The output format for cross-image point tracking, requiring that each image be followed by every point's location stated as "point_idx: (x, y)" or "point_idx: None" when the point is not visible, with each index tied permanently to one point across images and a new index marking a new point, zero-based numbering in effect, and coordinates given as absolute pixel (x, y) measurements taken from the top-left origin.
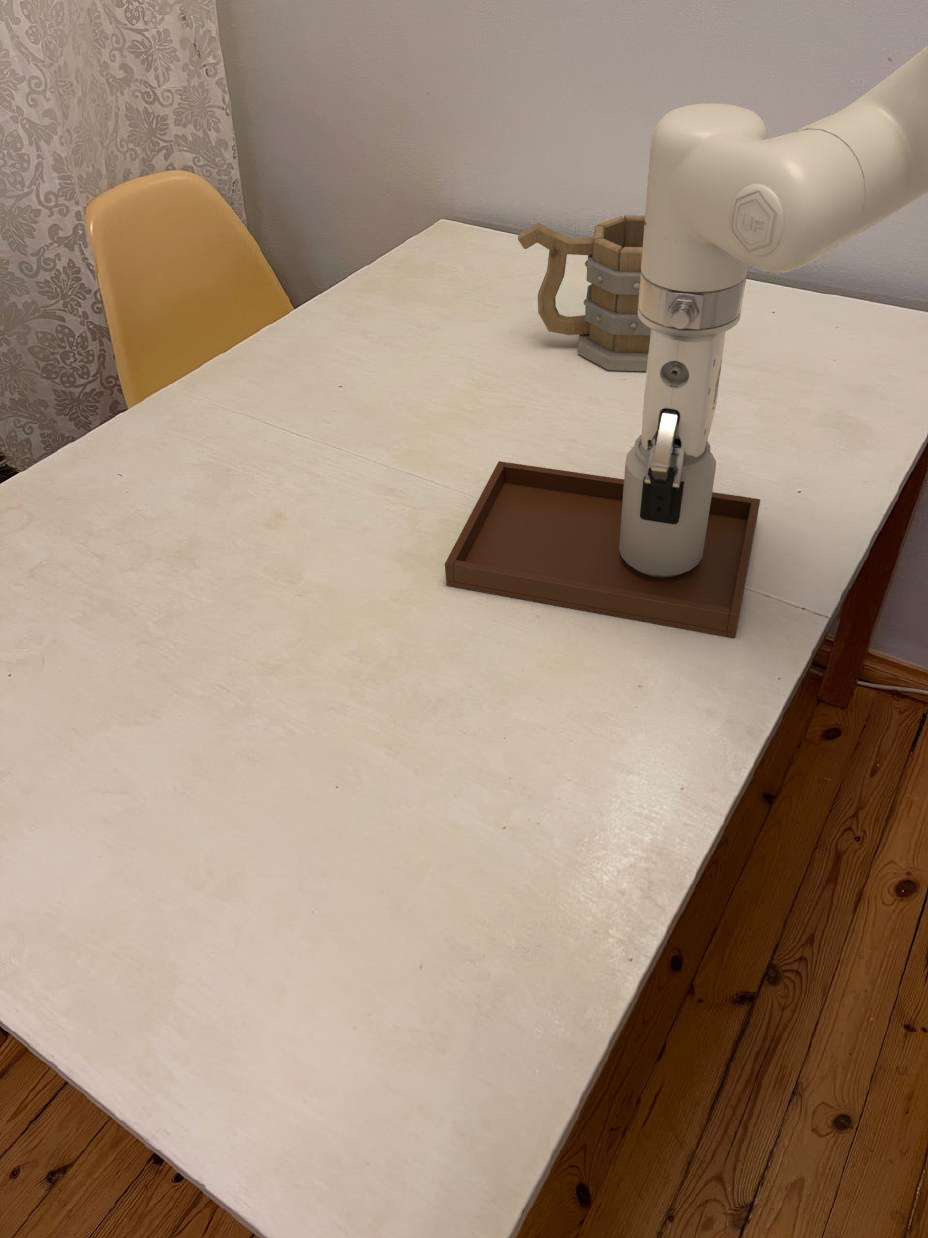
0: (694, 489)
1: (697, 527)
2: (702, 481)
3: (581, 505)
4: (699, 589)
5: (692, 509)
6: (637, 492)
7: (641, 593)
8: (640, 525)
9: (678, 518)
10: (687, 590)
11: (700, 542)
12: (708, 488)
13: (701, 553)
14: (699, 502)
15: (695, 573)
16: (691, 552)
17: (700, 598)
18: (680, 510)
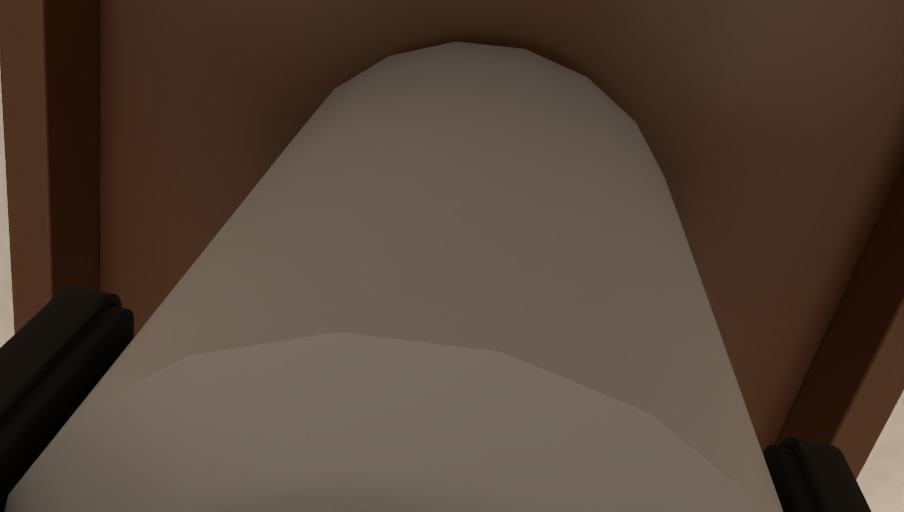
0: (771, 509)
1: (655, 218)
2: (740, 492)
3: None
4: (716, 58)
5: (723, 366)
6: None
7: (873, 373)
8: None
9: (850, 473)
10: (720, 115)
11: (598, 125)
12: (640, 333)
13: (548, 71)
14: (699, 344)
15: (592, 69)
16: (650, 165)
17: (782, 56)
18: (830, 497)
